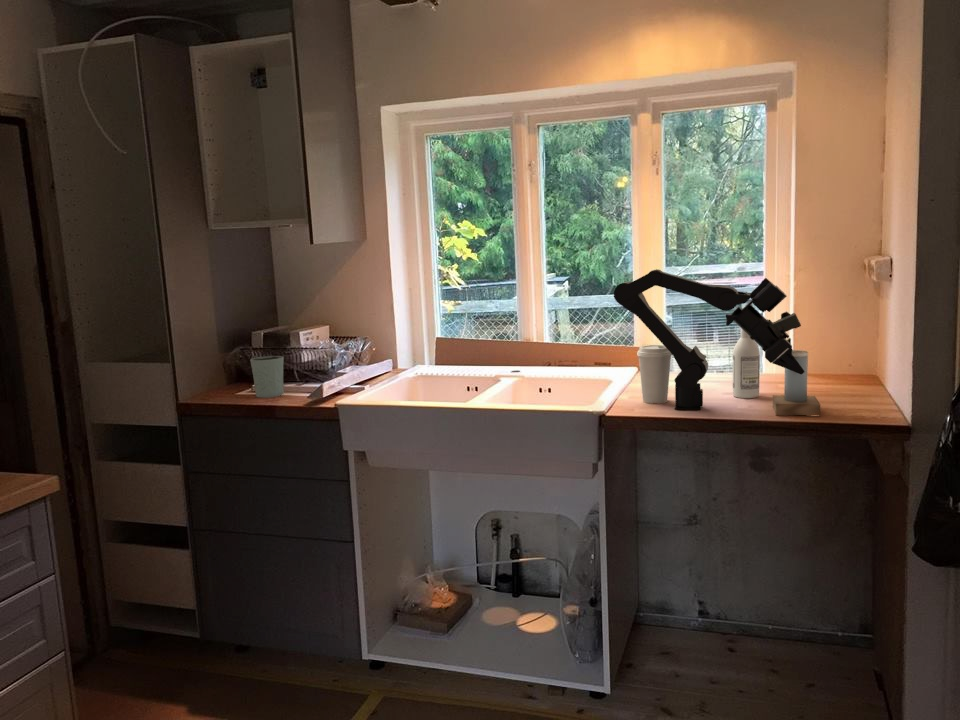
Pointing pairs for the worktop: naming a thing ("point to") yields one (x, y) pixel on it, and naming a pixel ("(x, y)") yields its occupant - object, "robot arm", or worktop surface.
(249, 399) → the worktop surface
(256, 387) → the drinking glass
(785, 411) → the base block
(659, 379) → the coffee cup
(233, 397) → the worktop surface
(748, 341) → the bath foam
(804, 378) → the canister
